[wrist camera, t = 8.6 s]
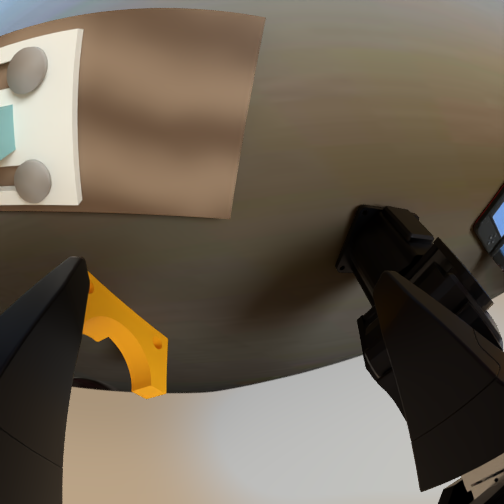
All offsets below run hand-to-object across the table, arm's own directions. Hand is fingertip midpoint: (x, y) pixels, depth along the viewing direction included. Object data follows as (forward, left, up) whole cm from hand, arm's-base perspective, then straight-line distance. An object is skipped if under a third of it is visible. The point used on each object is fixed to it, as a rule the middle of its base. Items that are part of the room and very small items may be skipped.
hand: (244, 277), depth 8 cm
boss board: (+2, +10, -12) cm, 16 cm away
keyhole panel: (+2, +15, -11) cm, 19 cm away
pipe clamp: (-16, +9, -12) cm, 22 cm away
